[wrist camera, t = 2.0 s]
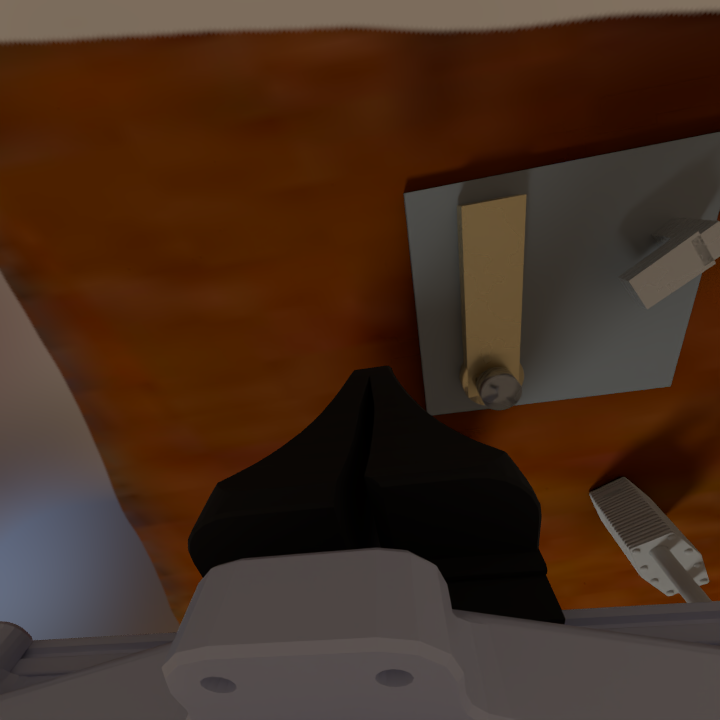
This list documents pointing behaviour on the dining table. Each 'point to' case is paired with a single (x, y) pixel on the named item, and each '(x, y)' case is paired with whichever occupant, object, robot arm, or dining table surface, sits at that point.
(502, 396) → the pin cap
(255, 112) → the dining table surface
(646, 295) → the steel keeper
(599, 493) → the grey padlock
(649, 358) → the slate board
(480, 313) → the brass link
